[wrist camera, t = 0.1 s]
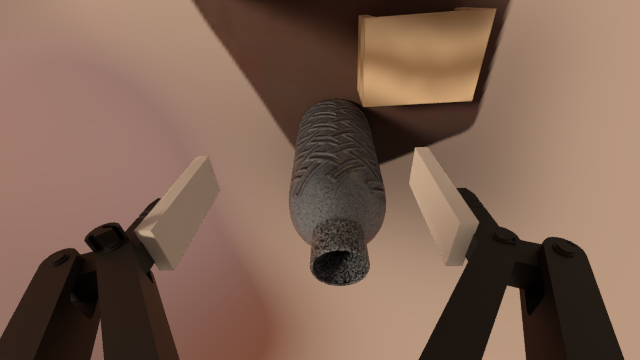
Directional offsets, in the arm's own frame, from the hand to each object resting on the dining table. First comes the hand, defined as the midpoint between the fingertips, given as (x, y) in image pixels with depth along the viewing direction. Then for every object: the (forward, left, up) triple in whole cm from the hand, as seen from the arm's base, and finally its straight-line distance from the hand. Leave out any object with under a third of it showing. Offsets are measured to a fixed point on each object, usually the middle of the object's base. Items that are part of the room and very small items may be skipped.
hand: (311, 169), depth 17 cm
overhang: (-2, +13, -28) cm, 31 cm away
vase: (+10, +2, -28) cm, 30 cm away
